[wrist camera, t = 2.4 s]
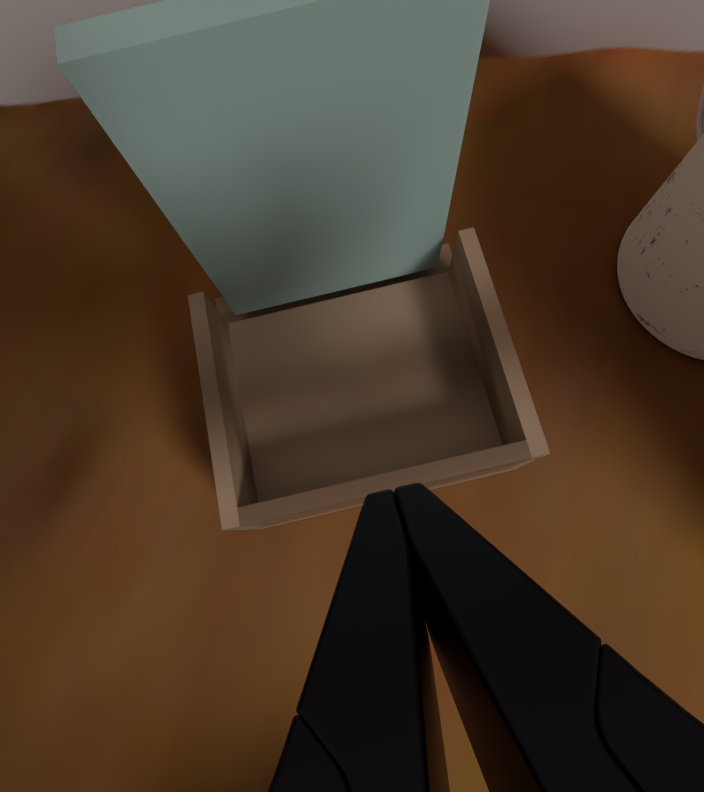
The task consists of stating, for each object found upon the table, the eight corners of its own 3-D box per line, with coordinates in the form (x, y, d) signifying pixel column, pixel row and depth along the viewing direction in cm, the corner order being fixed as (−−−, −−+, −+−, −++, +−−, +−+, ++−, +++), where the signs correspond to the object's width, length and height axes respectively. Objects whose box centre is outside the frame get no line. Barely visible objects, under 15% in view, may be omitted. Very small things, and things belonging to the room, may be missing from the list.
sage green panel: (436, 273, 22) (498, -42, 10) (239, 319, 22) (56, 64, 10) (427, 244, 22) (476, -94, 10) (233, 290, 22) (53, 9, 10)
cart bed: (512, 470, 21) (550, 453, 16) (259, 529, 21) (221, 530, 16) (445, 256, 24) (460, 187, 19) (223, 309, 24) (181, 253, 19)
